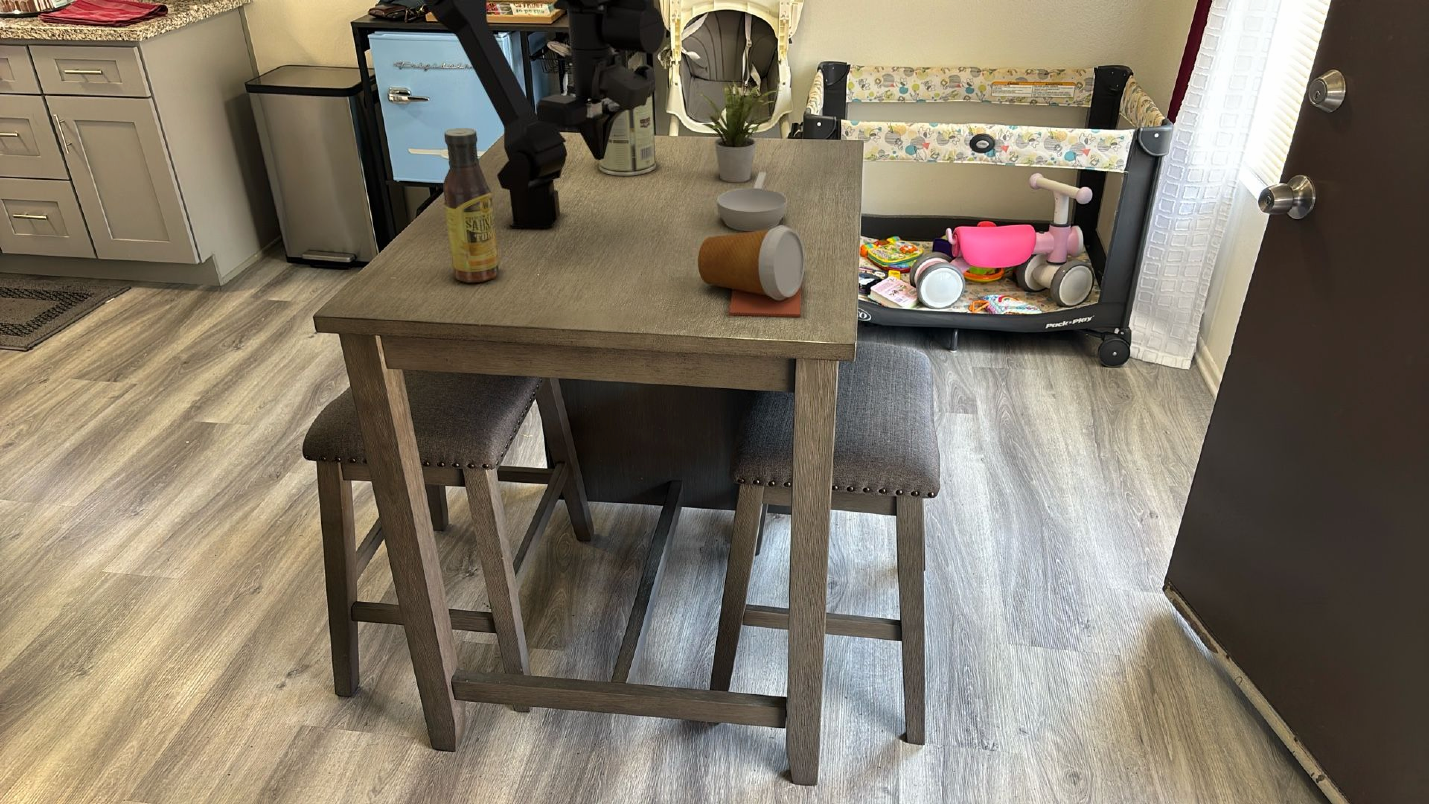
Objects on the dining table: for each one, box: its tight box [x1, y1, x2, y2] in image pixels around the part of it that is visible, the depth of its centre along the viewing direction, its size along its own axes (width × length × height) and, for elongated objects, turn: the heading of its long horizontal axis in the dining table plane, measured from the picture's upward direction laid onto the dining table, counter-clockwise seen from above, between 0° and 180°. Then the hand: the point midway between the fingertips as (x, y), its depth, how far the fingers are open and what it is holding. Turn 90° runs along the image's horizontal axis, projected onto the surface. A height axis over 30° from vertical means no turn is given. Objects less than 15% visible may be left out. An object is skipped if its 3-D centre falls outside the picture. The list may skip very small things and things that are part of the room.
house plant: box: [695, 80, 782, 183], centre depth 167 cm, size 14×14×16 cm
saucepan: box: [716, 171, 788, 232], centre depth 156 cm, size 11×18×4 cm, turn 170°
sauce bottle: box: [442, 127, 499, 284], centre depth 131 cm, size 6×6×20 cm
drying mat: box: [728, 284, 802, 318], centre depth 131 cm, size 9×14×1 cm, turn 175°
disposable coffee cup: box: [697, 224, 806, 300], centre depth 129 cm, size 10×10×12 cm
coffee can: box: [598, 92, 657, 177], centre depth 173 cm, size 10×10×14 cm
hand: (599, 159), depth 142 cm, fingers closed
